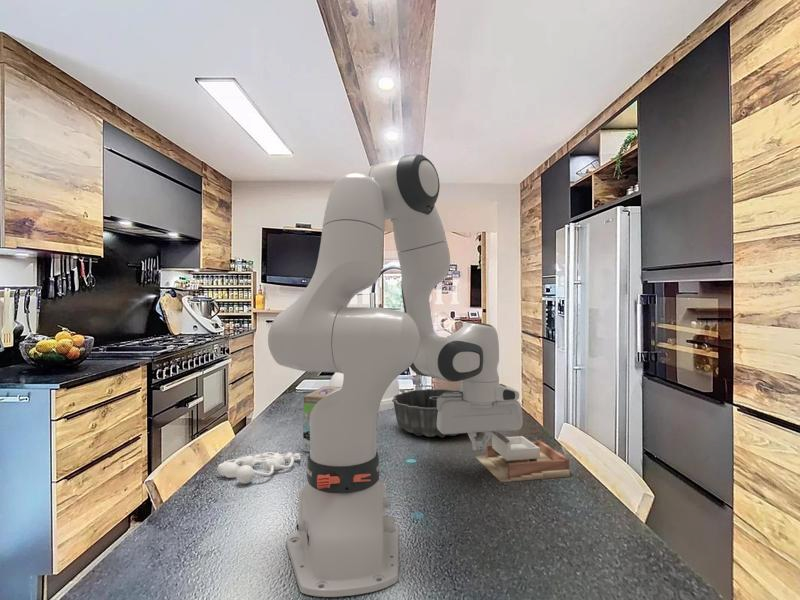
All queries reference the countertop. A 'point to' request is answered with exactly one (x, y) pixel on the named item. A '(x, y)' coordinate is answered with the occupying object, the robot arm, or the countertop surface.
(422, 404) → the bundt pan
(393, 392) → the dome cover
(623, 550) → the countertop surface
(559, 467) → the dock
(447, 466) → the countertop surface
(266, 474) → the tangled rod sculpture
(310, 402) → the tea box
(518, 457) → the white tray with rod
